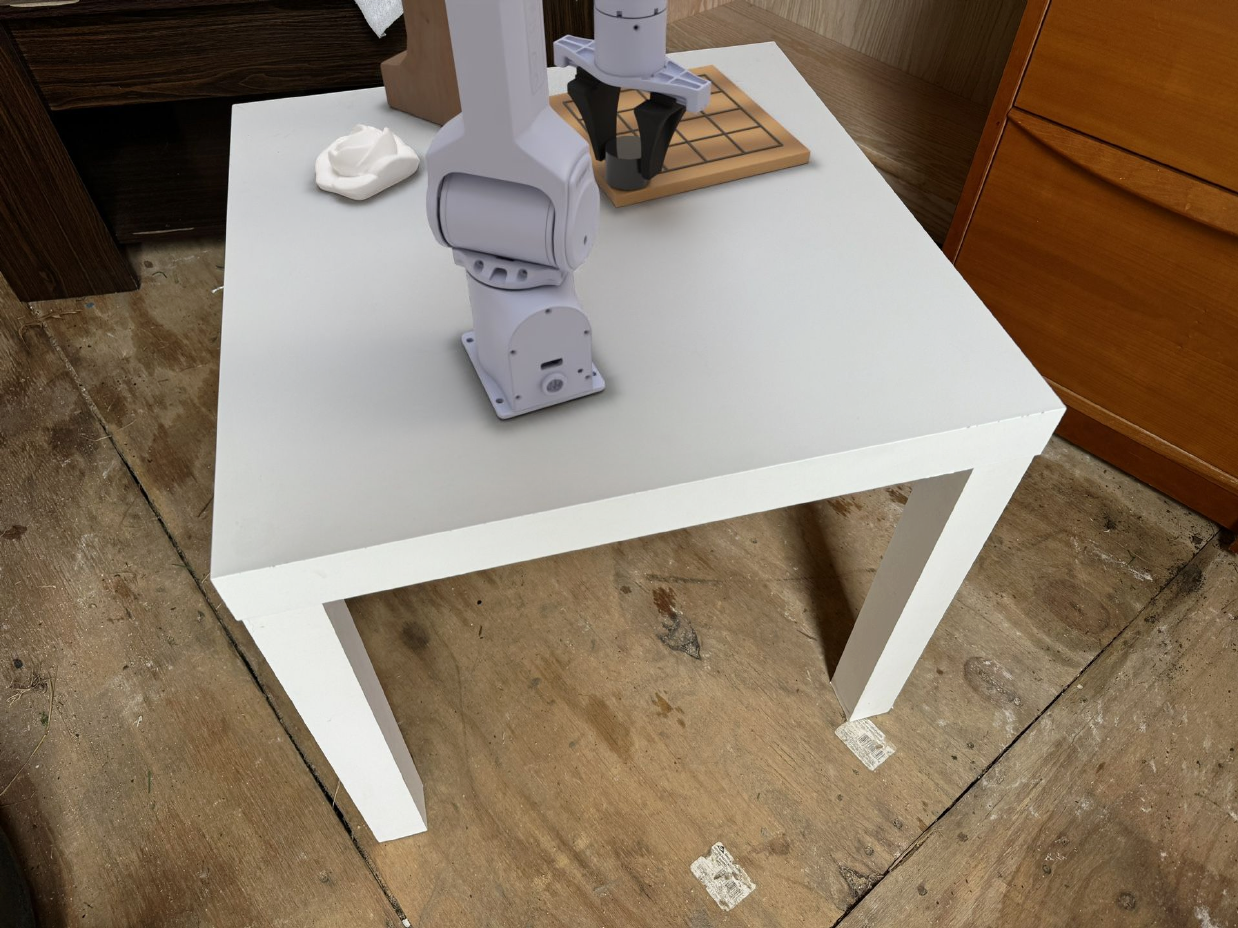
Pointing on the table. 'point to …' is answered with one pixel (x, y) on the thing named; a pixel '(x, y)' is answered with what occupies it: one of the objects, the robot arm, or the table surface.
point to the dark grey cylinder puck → (624, 163)
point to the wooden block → (424, 65)
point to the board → (699, 141)
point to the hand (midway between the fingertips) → (628, 165)
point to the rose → (364, 163)
